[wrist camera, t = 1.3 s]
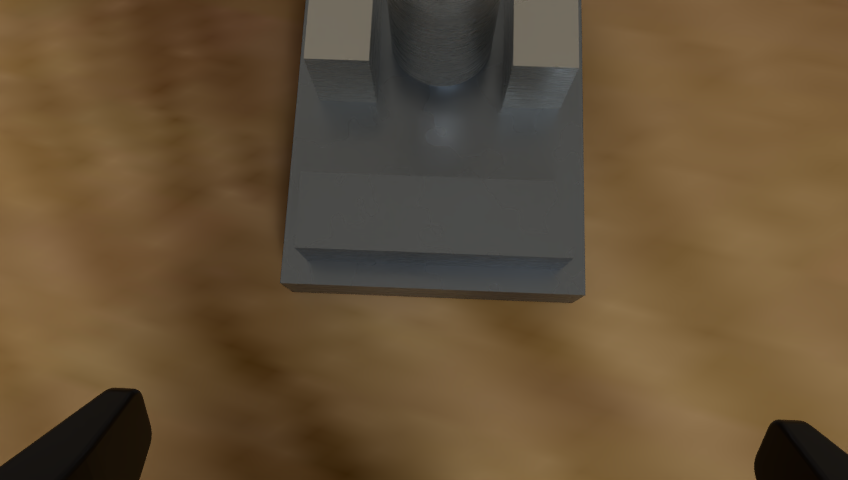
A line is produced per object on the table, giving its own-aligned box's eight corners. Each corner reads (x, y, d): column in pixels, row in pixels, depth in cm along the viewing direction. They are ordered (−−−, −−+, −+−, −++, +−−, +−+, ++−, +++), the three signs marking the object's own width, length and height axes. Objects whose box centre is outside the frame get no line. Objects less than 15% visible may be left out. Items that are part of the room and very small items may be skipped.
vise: (572, 303, 23) (610, 280, 18) (292, 291, 23) (256, 266, 19) (569, 1, 26) (601, -88, 21) (318, -7, 26) (292, -98, 21)
